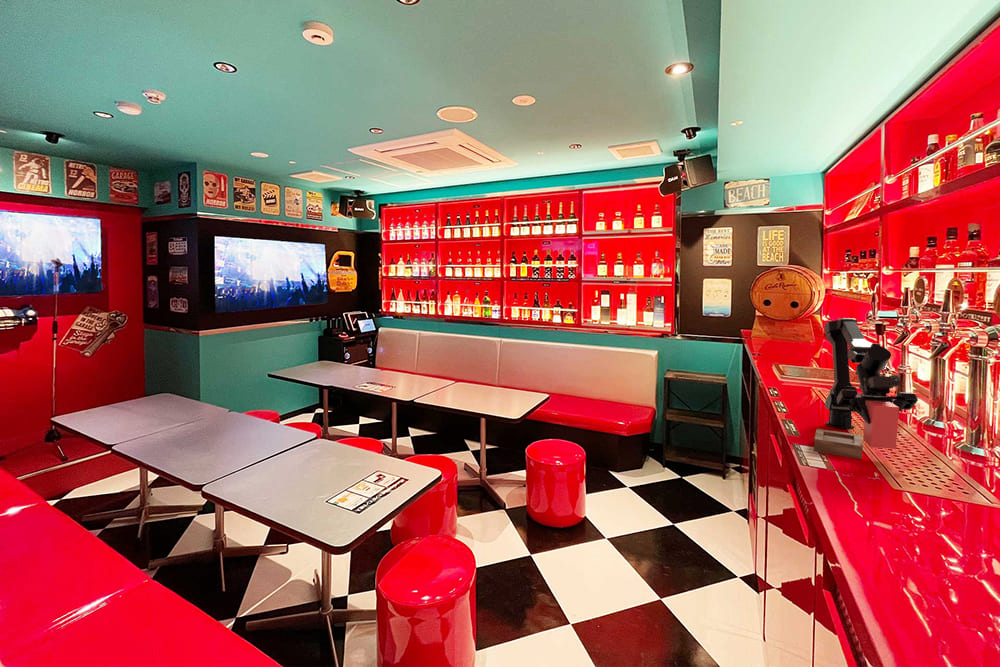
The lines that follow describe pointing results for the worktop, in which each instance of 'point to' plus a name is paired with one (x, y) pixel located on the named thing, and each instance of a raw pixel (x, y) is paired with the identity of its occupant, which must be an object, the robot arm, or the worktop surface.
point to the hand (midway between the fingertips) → (882, 424)
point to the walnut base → (838, 443)
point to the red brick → (881, 424)
